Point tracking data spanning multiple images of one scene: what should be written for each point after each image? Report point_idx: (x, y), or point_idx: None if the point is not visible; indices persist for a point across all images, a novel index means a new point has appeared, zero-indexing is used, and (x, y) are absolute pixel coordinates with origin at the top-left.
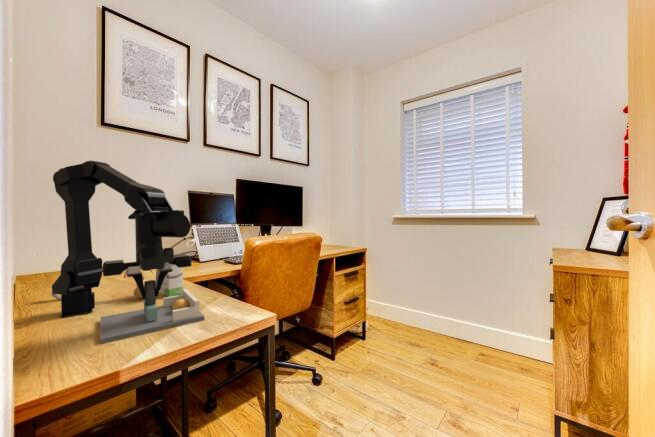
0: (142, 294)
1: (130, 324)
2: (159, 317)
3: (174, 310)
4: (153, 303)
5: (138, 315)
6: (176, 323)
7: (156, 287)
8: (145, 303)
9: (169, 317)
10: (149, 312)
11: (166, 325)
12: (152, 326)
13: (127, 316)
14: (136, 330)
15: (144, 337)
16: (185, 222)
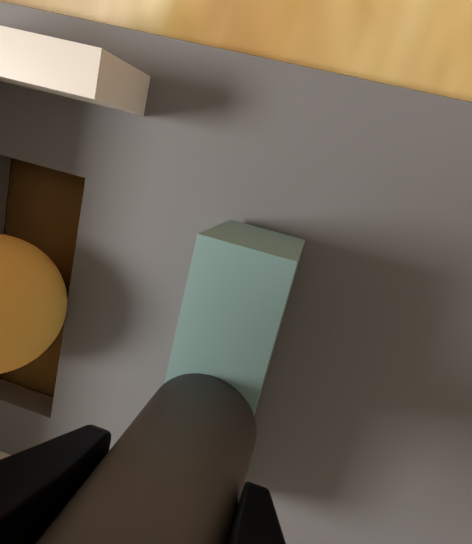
0: (273, 537)
1: (417, 327)
2: None
3: (80, 76)
4: (179, 382)
5: (280, 479)
6: (144, 35)
7: (3, 534)
8: (251, 436)
9: (134, 214)
10: (282, 251)
11: (222, 50)
12: (319, 108)
13: (345, 532)
14: (458, 121)
15: (432, 5)
16: None
